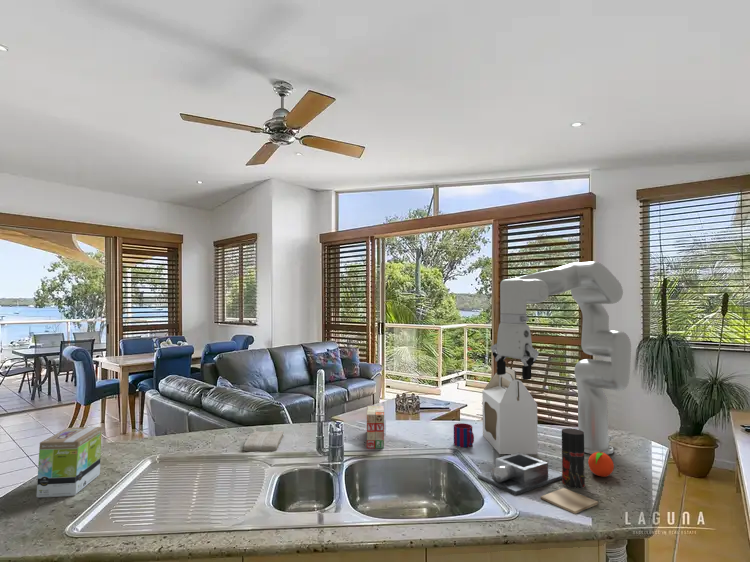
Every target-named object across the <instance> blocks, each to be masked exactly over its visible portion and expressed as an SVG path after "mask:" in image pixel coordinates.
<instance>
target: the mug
mask: <svg viewBox="0 0 750 562" xmlns="http://www.w3.org/2000/svg"><path fill="white" fill-rule="evenodd" d="M474 442H475V436H474V432H473V425H471V424H469V423H464V422H463V423H461V422H460V423H455V424H453V446H455V447H458V448H465V449H467V448H470V447H471V448H472V447H473V444H474Z"/></svg>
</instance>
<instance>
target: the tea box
mask: <svg viewBox="0 0 750 562" xmlns="http://www.w3.org/2000/svg"><path fill="white" fill-rule="evenodd" d="M102 429H103V427H102V426H89V427H88V426H85V427H67V428H65V429H63V430H61V431H59V432H57V433H56V434H54V435H52V436H50V437H48V438H46V439H45V440H42V441H40V442H39V450H38V466H37V467H38V468H37V483H36V498H56V497H74V496H76V495H77V494H78V493H79V492H80V491H82V490H83V489H84V488H85V487H87V485H89V484H90V483H91V482H92V481H93V480H95V479H96V478H98V477H99V475H100V474H101V460H102V459H101V456H102V455H101V454H102V434H103V433H102V432H103V431H102Z"/></svg>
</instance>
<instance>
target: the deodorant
mask: <svg viewBox="0 0 750 562" xmlns="http://www.w3.org/2000/svg"><path fill="white" fill-rule="evenodd" d="M585 464H586V463H585V452H584V432H583V431H581V430H579V429H578V428H570V427H569V428H562V429H561V471H562V472H561V473H562V479H561V481H562V482H561V483H562V485H564V486H565V487H568V488H572V489H583V488H585V485H586V484H585V483H586V480H585V479H586V475H585V473H586V471H585Z"/></svg>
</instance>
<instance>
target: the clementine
mask: <svg viewBox="0 0 750 562" xmlns="http://www.w3.org/2000/svg"><path fill="white" fill-rule="evenodd" d="M587 463H588V467H589V470H590V471H591V472H592V473H593V474H594V475H595V476H598V477H604V478H605V477H608V476H610V475H611V474H612V473H613V472H614V468H615V466H614V465H615V463H614V461H613V459H612V458H611V456H610V455H609V454H608V455H607V454H605V453H603V452H595V453H593V454H590V456H589V457H588V461H587Z"/></svg>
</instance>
